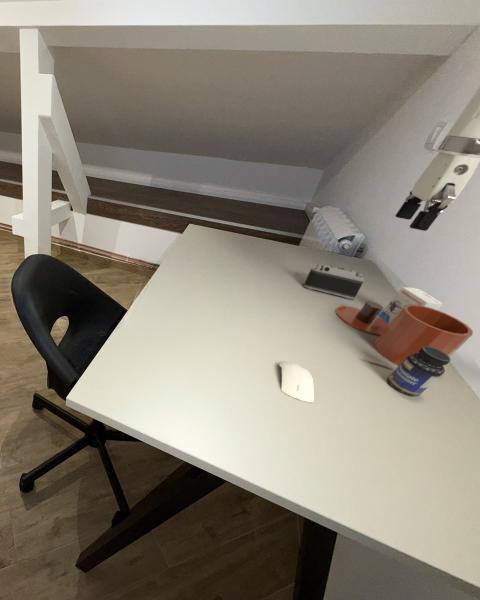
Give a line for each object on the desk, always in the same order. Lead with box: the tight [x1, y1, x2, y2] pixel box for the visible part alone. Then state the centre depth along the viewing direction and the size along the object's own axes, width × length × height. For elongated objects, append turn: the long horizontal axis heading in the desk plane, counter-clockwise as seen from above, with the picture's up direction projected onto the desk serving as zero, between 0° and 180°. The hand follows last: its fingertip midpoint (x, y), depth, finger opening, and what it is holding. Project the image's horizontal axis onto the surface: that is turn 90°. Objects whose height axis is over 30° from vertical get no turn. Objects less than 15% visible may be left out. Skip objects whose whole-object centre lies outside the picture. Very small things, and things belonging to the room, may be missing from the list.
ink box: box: [378, 286, 443, 325], centre depth 93 cm, size 9×5×12 cm, turn 179°
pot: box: [373, 304, 474, 367], centre depth 80 cm, size 13×13×13 cm
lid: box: [335, 300, 389, 336], centre depth 94 cm, size 14×14×7 cm
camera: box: [303, 263, 366, 300], centre depth 110 cm, size 16×9×10 cm, turn 68°
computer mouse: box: [278, 361, 315, 403], centre depth 72 cm, size 7×12×2 cm, turn 156°
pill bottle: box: [387, 346, 451, 397], centre depth 71 cm, size 6×6×11 cm
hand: (409, 223), depth 77 cm, fingers open, 9 cm apart
